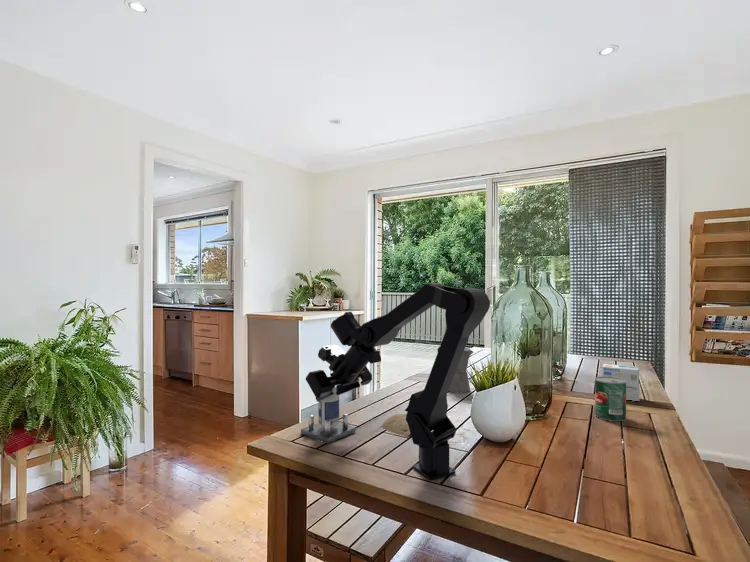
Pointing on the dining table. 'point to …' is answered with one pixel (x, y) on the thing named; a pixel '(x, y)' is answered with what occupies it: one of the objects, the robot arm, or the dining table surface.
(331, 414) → the pill bottle
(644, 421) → the dining table surface
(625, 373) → the light bulb box
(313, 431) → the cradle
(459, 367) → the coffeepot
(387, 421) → the clay tablet
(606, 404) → the canned tomato
